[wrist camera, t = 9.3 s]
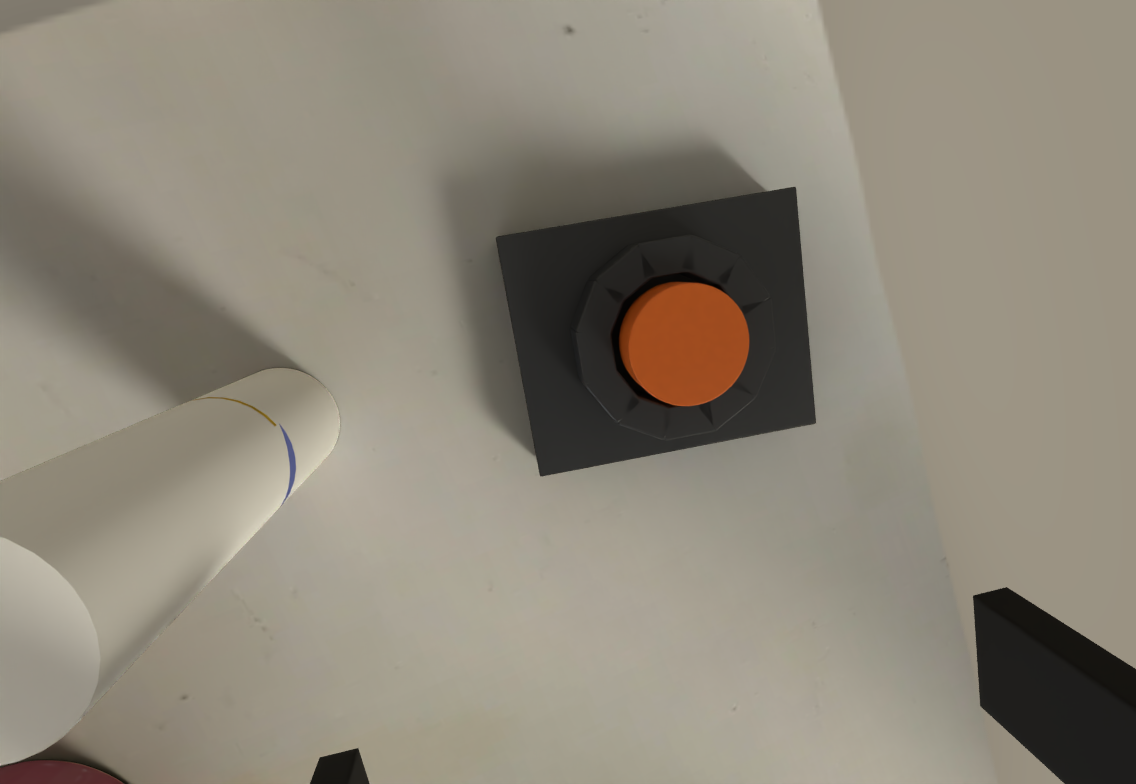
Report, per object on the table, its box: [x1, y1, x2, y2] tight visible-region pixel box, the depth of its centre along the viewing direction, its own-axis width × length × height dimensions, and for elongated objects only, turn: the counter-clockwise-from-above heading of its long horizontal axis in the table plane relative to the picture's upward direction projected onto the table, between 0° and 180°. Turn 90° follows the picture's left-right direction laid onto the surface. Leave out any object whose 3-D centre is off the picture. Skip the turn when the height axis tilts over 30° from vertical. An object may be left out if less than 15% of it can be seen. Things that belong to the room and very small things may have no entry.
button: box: [619, 282, 749, 406], centre depth 21 cm, size 4×4×2 cm
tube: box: [0, 368, 340, 766], centre depth 17 cm, size 4×4×15 cm
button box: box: [496, 187, 816, 476], centre depth 23 cm, size 11×9×4 cm
